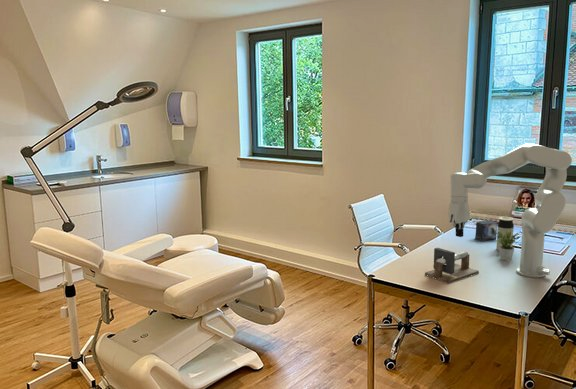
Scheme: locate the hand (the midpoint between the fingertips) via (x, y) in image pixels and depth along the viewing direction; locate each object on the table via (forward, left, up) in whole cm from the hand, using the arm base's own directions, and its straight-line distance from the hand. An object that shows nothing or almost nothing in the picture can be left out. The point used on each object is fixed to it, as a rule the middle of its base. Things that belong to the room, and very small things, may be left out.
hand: (459, 236), depth 233 cm
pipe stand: (+1, +4, -18) cm, 19 cm away
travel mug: (+8, -50, -19) cm, 54 cm away
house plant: (-3, -36, -19) cm, 41 cm away
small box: (+27, -61, -19) cm, 69 cm away
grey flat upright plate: (+1, +10, -15) cm, 18 cm away
